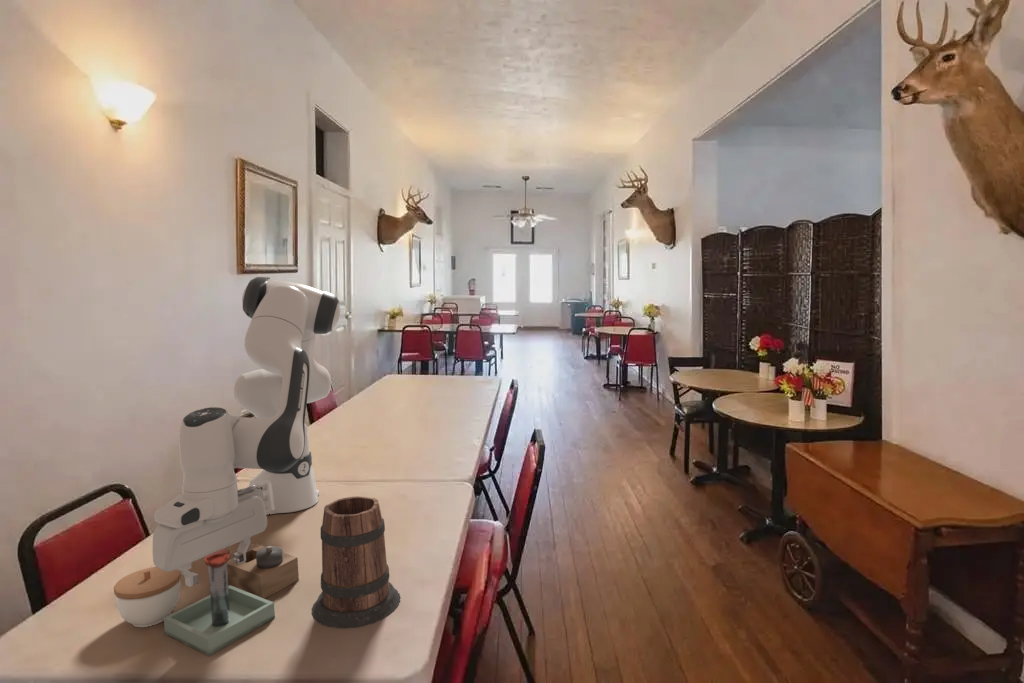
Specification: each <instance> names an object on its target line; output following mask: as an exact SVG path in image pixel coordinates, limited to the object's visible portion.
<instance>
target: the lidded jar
mask: <svg viewBox="0 0 1024 683" xmlns="http://www.w3.org/2000/svg"><path fill="white" fill-rule="evenodd" d="M113 593H114V598H115V604H116V608H117V611H118V613H119V615H120V616H121V618H122V620H124V621H126V623H128V624H132V626H133V627H135V628H148V626H149V627H152V625H153V626H155V625H158V624H160V623H162V622H164V617H166V616H169V615H171V614H172V612H173V610H174V609H175V608H176V606H177V605H178V601H179V600H180V595H181V572H180V571H179V570H178V569H175V570H173V571H171V572H166V571H163V570H161V569H159V568H157V567H156V566H151V567H147V568H144V569H140V570H136V571H134V572H132V573H129V574H127V575H125V576H124V577H122V578H121V579H119V580H118V581H117V582H116V583H115V584H114V587H113Z"/></svg>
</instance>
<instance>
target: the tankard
mask: <svg viewBox="0 0 1024 683" xmlns="http://www.w3.org/2000/svg"><path fill="white" fill-rule="evenodd" d="M385 531H386V526H385V519H384V518H383V516H382V512H381V508H380V503H379V500H378V499H377V498H375V497H366V496H350V497H349V496H348V497H343V498H339V499H336V500H334V501H333V502H330V503H328V504H326V505H324V507H323V517H322V525H321V526H320V539H321V567H322V568H321V570H322V571H321V575H320V588H321V593H320V594H319V595H318V598H317V599H316V601H315V602H314V603H313V605H312V608H311V615H312V618H313V620H315V622H316V623H318V624H320V625H322V626H324V627H327V628H332V629H340V630H341V629H344V630H345V629H356V628H361V627H366V625H367V626H369V625H373V624H375V623H377V622H381V621H382V620H385V619H386V618H388V617H389V616H391V614H392V613H394V612H395V611H396V610H397V609H398V608H399V606H400V604H401V600H400V599H401V598H402V597H401V594H400V592H399V591H398V590H397V589H396V588H395V587H394V585H393V584H392V583H391V582H389V580H390V568H389V565H388V562H387V551H386V550H387V548H386V540H385V538H386V537H385ZM398 592H399V593H398ZM399 603H400V604H399Z"/></svg>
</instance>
